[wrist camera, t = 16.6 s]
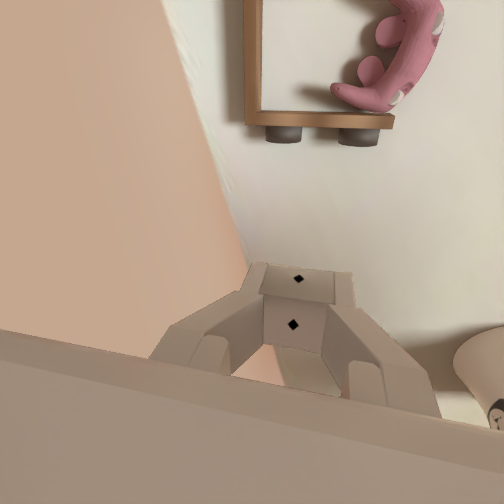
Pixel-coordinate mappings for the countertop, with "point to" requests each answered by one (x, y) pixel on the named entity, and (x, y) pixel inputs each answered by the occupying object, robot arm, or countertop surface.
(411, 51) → the video game controller
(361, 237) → the countertop surface
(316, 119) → the chassis bay
